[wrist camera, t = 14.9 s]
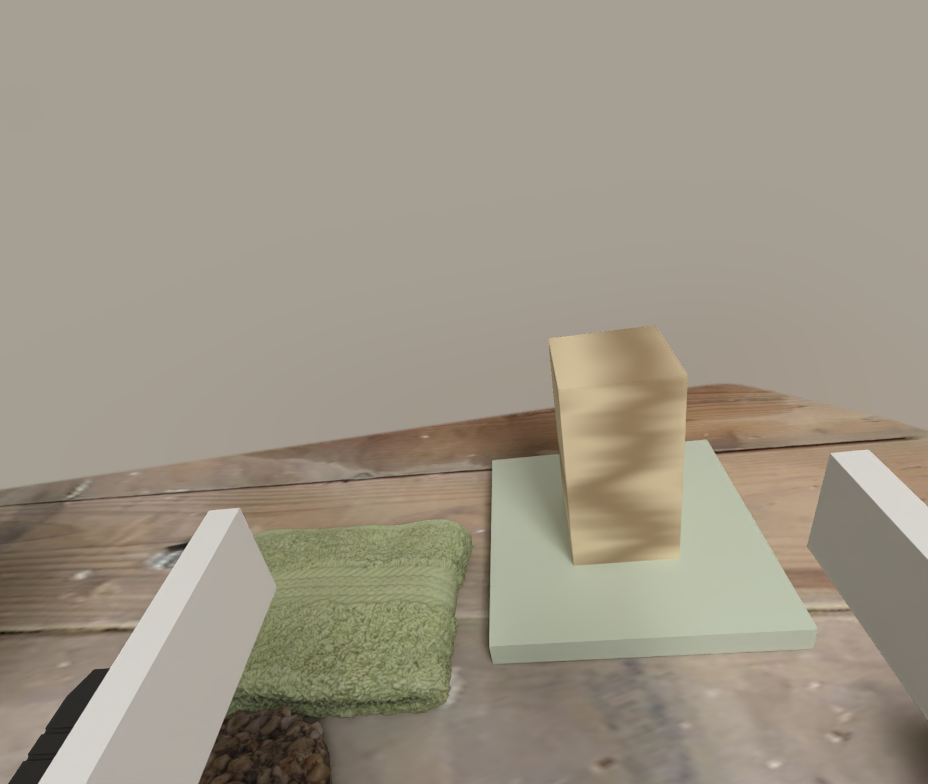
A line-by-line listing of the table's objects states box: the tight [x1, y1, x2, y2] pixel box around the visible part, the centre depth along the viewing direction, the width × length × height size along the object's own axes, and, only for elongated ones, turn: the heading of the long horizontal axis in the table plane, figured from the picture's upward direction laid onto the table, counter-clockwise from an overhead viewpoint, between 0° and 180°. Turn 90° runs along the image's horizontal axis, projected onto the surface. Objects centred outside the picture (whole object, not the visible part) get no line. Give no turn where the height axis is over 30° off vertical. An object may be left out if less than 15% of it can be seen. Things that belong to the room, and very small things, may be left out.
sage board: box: [489, 440, 818, 664], centre depth 34 cm, size 16×16×2 cm
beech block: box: [549, 325, 688, 566], centre depth 31 cm, size 6×6×12 cm
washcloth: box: [225, 519, 473, 719], centre depth 33 cm, size 13×18×3 cm
